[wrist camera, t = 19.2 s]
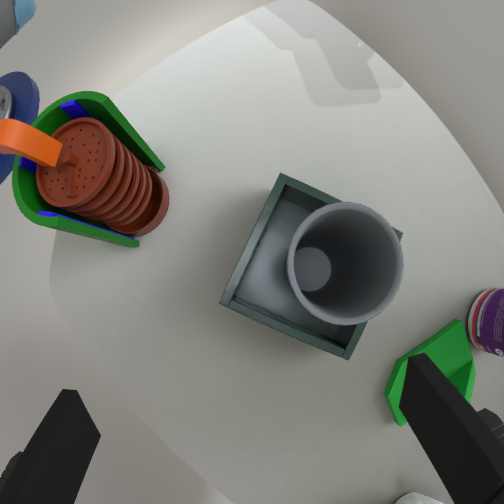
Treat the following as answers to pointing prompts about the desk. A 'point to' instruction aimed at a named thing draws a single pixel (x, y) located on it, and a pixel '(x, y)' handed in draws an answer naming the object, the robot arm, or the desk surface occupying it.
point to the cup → (344, 263)
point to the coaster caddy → (85, 170)
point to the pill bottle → (488, 321)
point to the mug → (416, 499)
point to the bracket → (446, 359)
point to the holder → (273, 277)
